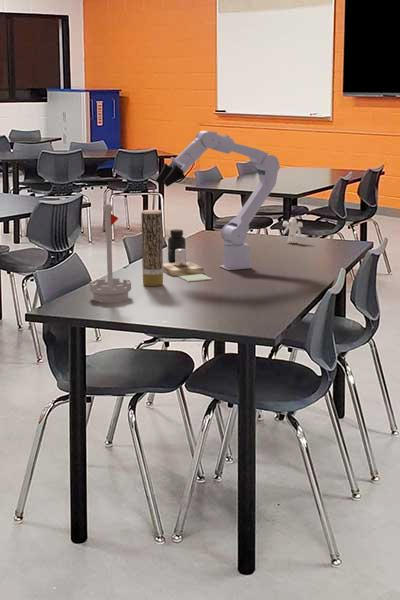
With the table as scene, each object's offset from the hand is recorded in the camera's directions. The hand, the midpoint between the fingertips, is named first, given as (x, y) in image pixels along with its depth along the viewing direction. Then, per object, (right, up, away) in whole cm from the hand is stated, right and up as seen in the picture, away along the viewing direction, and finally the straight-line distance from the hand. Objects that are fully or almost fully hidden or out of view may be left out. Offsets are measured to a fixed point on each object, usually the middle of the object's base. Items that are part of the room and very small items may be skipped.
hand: (161, 183), depth 313 cm
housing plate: (+7, -30, +12) cm, 33 cm away
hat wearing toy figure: (+53, -16, +71) cm, 90 cm away
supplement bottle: (+5, -26, +32) cm, 42 cm away
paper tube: (-2, -36, -11) cm, 37 cm away
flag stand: (-15, -40, -30) cm, 53 cm away
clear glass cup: (+7, -30, +12) cm, 33 cm away
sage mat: (+12, -33, -1) cm, 35 cm away
